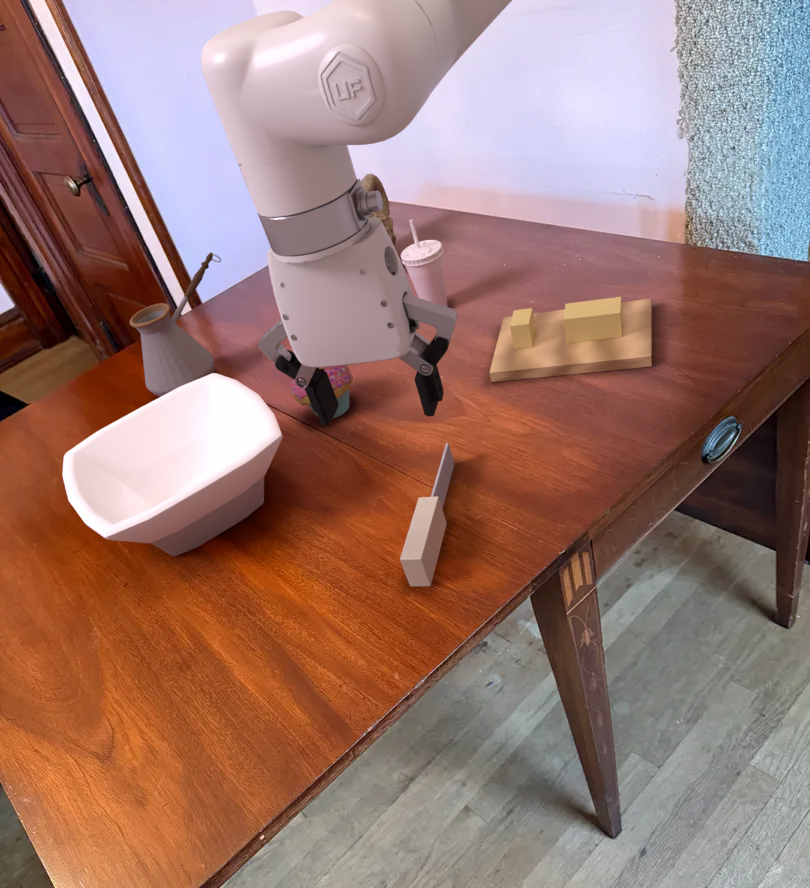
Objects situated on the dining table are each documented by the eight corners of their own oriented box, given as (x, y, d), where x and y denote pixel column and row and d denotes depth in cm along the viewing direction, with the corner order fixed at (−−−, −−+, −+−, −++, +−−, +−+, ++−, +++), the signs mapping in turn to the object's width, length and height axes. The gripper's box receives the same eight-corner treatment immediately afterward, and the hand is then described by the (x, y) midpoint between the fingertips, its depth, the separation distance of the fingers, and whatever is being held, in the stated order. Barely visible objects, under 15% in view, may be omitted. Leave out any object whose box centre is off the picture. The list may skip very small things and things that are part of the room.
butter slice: (536, 331, 101) (532, 307, 99) (532, 347, 98) (528, 323, 96) (517, 333, 102) (513, 310, 100) (514, 349, 99) (509, 325, 97)
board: (651, 308, 100) (651, 298, 99) (651, 366, 91) (651, 356, 90) (505, 326, 107) (503, 317, 106) (491, 382, 98) (489, 372, 97)
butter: (623, 320, 97) (621, 296, 95) (622, 337, 95) (620, 312, 92) (568, 327, 100) (565, 303, 97) (566, 343, 97) (563, 319, 95)
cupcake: (374, 399, 102) (347, 321, 94) (331, 435, 99) (299, 356, 91) (333, 386, 108) (304, 311, 100) (291, 420, 104) (257, 345, 96)
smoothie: (436, 295, 120) (414, 208, 110) (464, 302, 116) (444, 212, 106) (408, 315, 117) (383, 228, 108) (436, 323, 113) (412, 233, 104)
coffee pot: (185, 412, 114) (136, 324, 104) (140, 402, 120) (90, 318, 110) (274, 337, 124) (238, 251, 114) (229, 331, 131) (190, 249, 121)
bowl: (329, 498, 89) (299, 429, 82) (140, 614, 83) (91, 550, 76) (252, 423, 106) (222, 361, 99) (91, 515, 100) (47, 456, 93)
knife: (430, 586, 75) (420, 559, 72) (409, 586, 75) (399, 559, 73) (462, 463, 87) (455, 436, 85) (444, 465, 88) (436, 438, 85)
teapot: (379, 294, 126) (351, 205, 116) (320, 299, 130) (289, 214, 120) (420, 236, 139) (398, 151, 129) (365, 242, 144) (340, 161, 134)
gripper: (438, 177, 54) (483, 377, 65) (232, 218, 60) (306, 395, 71) (417, 222, 49) (469, 430, 60) (193, 262, 55) (280, 445, 66)
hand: (380, 411), depth 66 cm, fingers open, 9 cm apart
